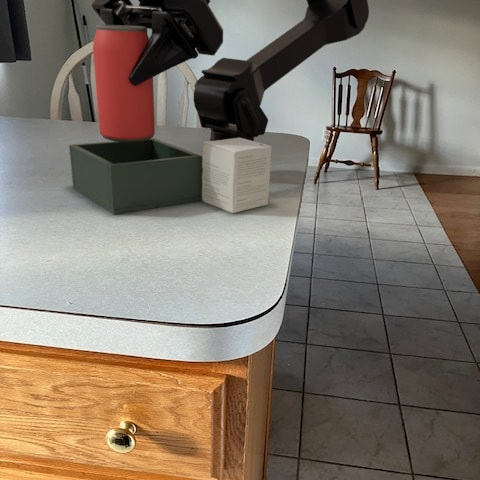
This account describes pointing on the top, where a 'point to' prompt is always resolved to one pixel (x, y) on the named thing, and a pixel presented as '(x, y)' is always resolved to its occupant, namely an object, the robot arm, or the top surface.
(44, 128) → the top surface
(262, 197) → the product box
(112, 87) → the beer can
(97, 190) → the open storage bin
